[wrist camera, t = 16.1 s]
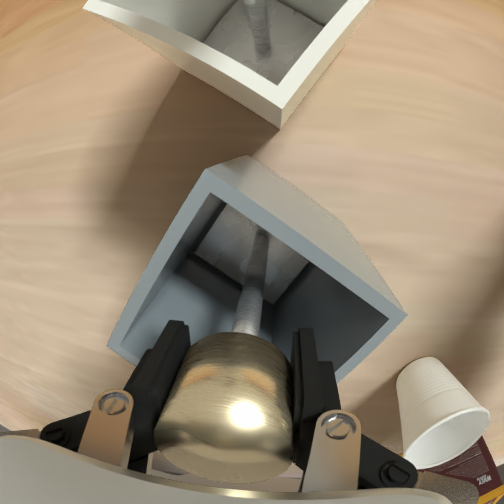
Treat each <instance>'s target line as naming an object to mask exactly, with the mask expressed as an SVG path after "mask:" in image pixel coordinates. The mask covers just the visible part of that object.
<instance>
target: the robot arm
mask: <svg viewBox="0 0 504 504" xmlns="http://www.w3.org/2000/svg"><path fill="white" fill-rule="evenodd" d="M190 347H191V341H190V332H189V326H188V325H185V324H184V321H179V320H169V321H168V323H167V324H166V326H165V328H164V329H163V331H162V333H161V335H160V336H159V338H158V340H157V342H156V343H155V345H154V347H153V349H147V350H146V351H145V353H144V355H143V356H142V358H141V360H140V361H139V363H138V365H137V366H136V368H135V370H134V372H133V373H132V375H131V377H130V379H129V380H128V382H127V384H126V385H125V387H124V389H123V390H120V389H111V390H107V391H105V392H103V393H101V394H100V395H99V396H98V397H97V398H96V400H95V402H94V405H93V407H92V410H90V411H87V412H84V413H81V414H78V415H75V416H72V417H69V418H66V419H63V420H59V421H56V422H53V423H50V424H48V425H47V426H45V427H44V428H43V430H42V431H39V430H38V429H30V430H19V431H6V432H0V504H477V503H478V499H479V492H478V489H477V487H476V486H475V485H474V484H472V483H470V482H467V481H463V480H459V479H455V478H451V477H447V476H443V475H440V474H436V473H433V472H429V471H426V470H425V471H424V473H422V472H419V471H417V469H416V467H415V466H414V465H413V464H412V463H411V462H410V461H408V460H406V459H405V458H403V457H401V456H399V455H397V454H396V453H394V452H392V451H390V450H388V449H387V448H385V447H383V446H381V445H380V444H378V443H376V442H375V441H373V440H371V439H369V438H368V437H366V436H364V435H363V434H361V423H360V421H359V420H358V418H357V417H356V416H355V415H354V414H352V413H350V412H348V411H344V410H341V405H340V400H339V394H338V388H337V383H336V378H335V372H334V367H333V363H332V361H318V357H317V350H316V343H315V336H314V330H313V328H299V331H293V339H292V349H291V359H290V365H291V368H292V390H293V428H294V458H293V463H295V465H296V466H298V467H299V468H300V469H302V470H303V474H302V478H301V483H300V486H299V491H298V492H295V493H294V492H293V493H291V492H260V491H247V490H235V489H225V488H218V487H210V486H203V485H196V484H191V483H185V482H180V481H174V480H170V479H165V478H161V477H156V476H152V475H151V467H152V458H153V452H154V451H157V450H158V448H157V446H156V444H155V442H154V437H153V435H154V430H155V427H156V425H157V422H158V420H159V417H160V415H161V413H162V410H163V408H164V405H165V403H166V400H167V398H168V395H169V393H170V391H171V388H172V386H173V383H174V381H175V379H176V376H177V374H178V371H179V369H180V367H181V364H182V362H183V360H184V357H185V355H186V353H187V351H188V350H189V348H190Z"/></svg>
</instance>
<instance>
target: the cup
mask: <svg viewBox="0 0 504 504" xmlns="http://www.w3.org/2000/svg"><path fill="white" fill-rule="evenodd" d="M396 389H397V396H398V402H399V411H400V418H401V428H402V440H403V452H404V453H403V456H402V457H403V458H405V459H406V460H408V461H410V462H411V463H412V464H413V465H414V466H415V467H416V469H426V468H431V467H434V466H438V465H440V464H443V463H445V462H447V461H449V460H451V459H453V458H455V457H457V456H458V455H460V454H461V453H463V452H464V451H466V450H467V449H468V448H470V447H471V446H472V445H473V444H474V443H475V442H476V441H477V440H478V439H479V438H480V437H481V436H482V434H483V433H484V432H485V430H486V429H487V427H488V425H489V422H490V412H489V411H488V410H487V409H486V408H483V407H482V406H481V405H480V404H479V403H478V402H477V401H476V400H475V398H474V397H473V396H472V395H471V394H470V393H469V392H468V391H467V390H466V389H465V388H464V387H463V385H462V384H461V383H460V382H459V381H458V380H457V379H456V378H455V377H454V376H453V375H452V374H451V373H450V371H449V370H448V369H447V368H446V367H445V366H444V365H443V364H442V363H441V362H440V361H439V360H438V359H436V358H434V357H424V358H420V359H417V360H415V361H413V362H411V363H410V364H409V365H407V366H406V367H405V368H404V369H403V370H402V371H401V373H400V374H399V376H398V378H397V381H396Z"/></svg>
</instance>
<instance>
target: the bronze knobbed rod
mask: <svg viewBox="0 0 504 504" xmlns="http://www.w3.org/2000/svg"><path fill="white" fill-rule="evenodd" d="M322 30H323V27H321V26H320V25H318V24H316V23H315V22H313V21H311V20H310V19H308V18H306V17H305V16H303V15H301V14H299V13H298V12H296V11H294V10H292V9H291V8H289V7H287V6H285V5H283V4H281V3H279V2H277V1H276V0H238V1H237V2H236V4H235V5H234V6H233V7H232V8H231V9H230V11H229V12H228V13H227V14H226V15H225V16H224V18H223V19H222V20H221V21H220V23H219V24H218V25H217V26H216V27H215V29H214V30H213V31H212V32H211V34H210V35H209V36H208V38H207V39H206V40H205V41H204V43H203V44H205V45H207V46H209V47H211V48H213V49H215V50H217V51H219V52H221V53H223V54H224V55H226V56H228V57H230V58H232V59H233V60H235V61H237V62H239V63H241V64H242V65H244V66H246V67H247V68H249V69H251V70H252V71H254V72H256V73H257V74H259V75H261V76H262V77H264V78H266V79H267V80H269V81H270V82H272V83H274V84H275V85H277V86H278V85H279V83H280V82H281V81H282V79H283V78H284V77H285V76H286V74H287V73H288V72H289V70H290V69H291V68H292V67H293V65H294V64H295V63H296V62H297V60H298V59H299V58H300V56H301V55H302V54H303V53H304V51H305V50H306V49H307V48H308V47H309V45H310V44H311V43H312V42H313V40H314V39H315V38H316V37H317V36H318V34H319V33H320V32H321V31H322Z"/></svg>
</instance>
